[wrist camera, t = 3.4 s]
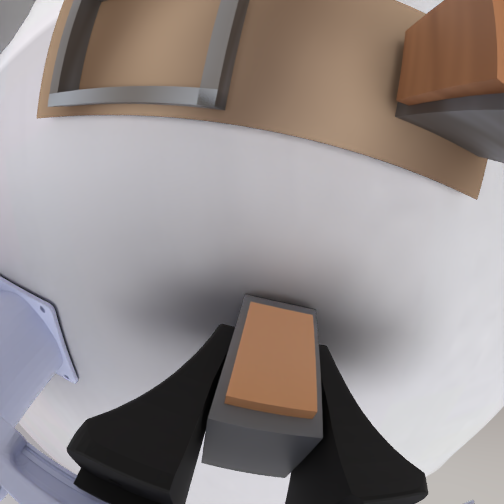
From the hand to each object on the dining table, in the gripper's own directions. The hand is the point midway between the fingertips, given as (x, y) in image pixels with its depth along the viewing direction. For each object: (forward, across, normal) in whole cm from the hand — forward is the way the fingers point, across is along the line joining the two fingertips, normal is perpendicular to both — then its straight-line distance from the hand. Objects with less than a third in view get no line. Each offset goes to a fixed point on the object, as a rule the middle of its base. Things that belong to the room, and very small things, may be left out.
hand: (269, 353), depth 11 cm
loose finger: (+1, 0, 0) cm, 1 cm away
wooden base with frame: (+2, +3, -11) cm, 12 cm away
